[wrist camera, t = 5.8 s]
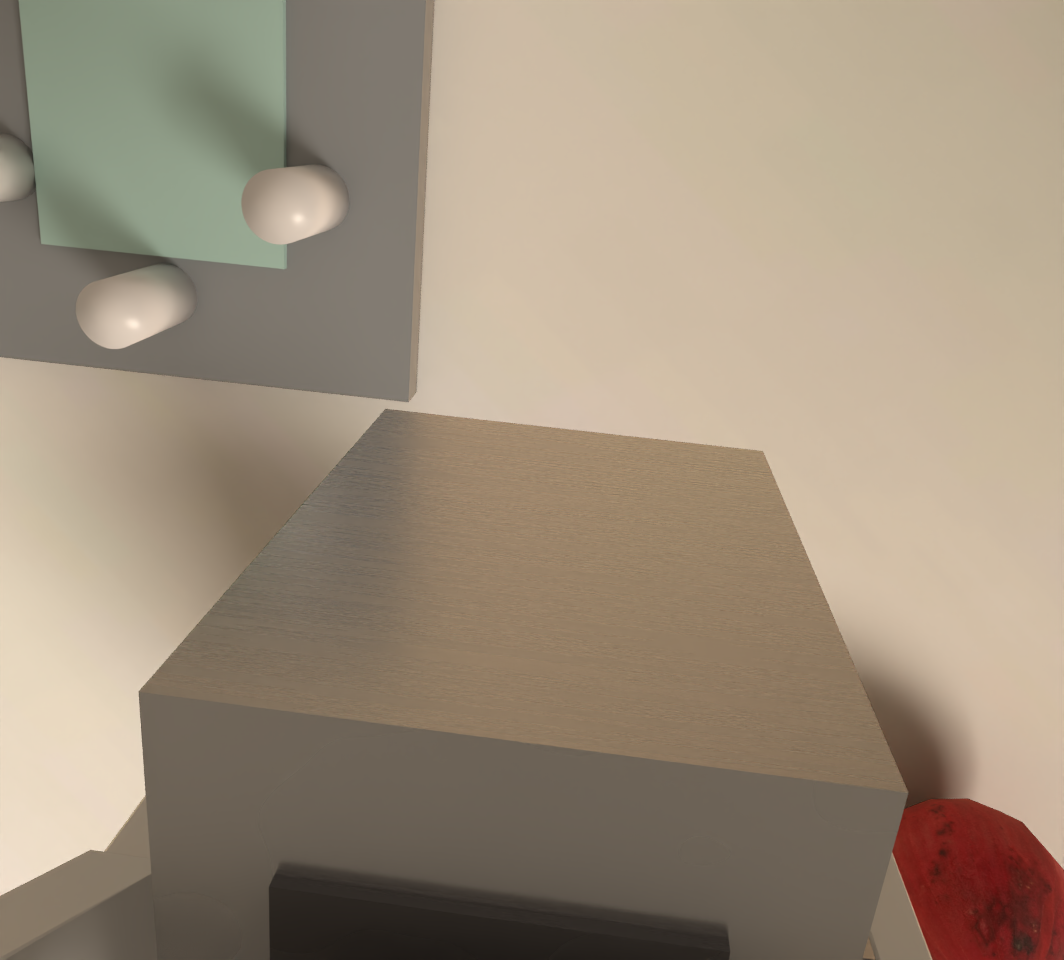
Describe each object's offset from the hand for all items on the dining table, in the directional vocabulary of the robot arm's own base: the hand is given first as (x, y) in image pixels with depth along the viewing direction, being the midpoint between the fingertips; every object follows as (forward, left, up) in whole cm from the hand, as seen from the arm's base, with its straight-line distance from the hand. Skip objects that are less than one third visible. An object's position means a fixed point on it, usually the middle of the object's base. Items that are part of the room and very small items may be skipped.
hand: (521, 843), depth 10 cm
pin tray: (+11, -8, -17) cm, 22 cm away
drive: (0, 0, -2) cm, 2 cm away
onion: (-12, +12, -17) cm, 24 cm away
